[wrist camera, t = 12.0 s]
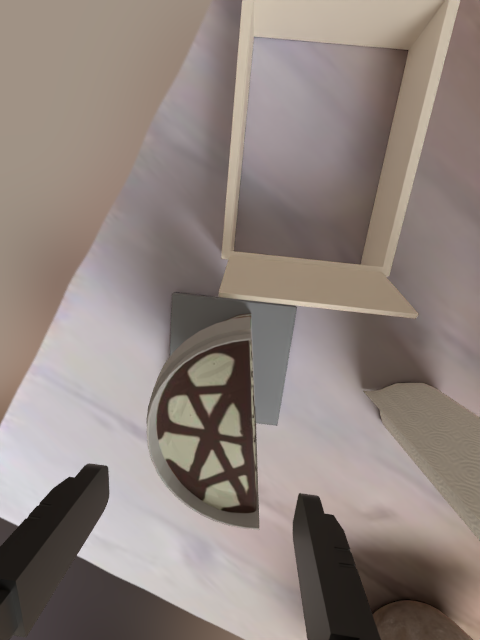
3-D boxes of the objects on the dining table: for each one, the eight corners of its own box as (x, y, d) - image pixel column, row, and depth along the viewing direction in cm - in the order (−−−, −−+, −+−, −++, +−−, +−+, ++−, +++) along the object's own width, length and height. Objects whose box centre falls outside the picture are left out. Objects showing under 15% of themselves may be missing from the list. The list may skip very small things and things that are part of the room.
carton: (428, 0, 15) (615, -277, 8) (359, 298, 20) (428, 320, 12) (250, -15, 16) (249, -298, 8) (224, 284, 21) (207, 295, 13)
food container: (180, 299, 20) (115, 331, 10) (250, 296, 20) (250, 326, 10) (194, 420, 23) (153, 535, 13) (255, 419, 23) (259, 537, 13)
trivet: (294, 305, 21) (297, 307, 20) (276, 419, 24) (277, 425, 23) (175, 292, 21) (171, 293, 20) (171, 406, 24) (168, 412, 23)
